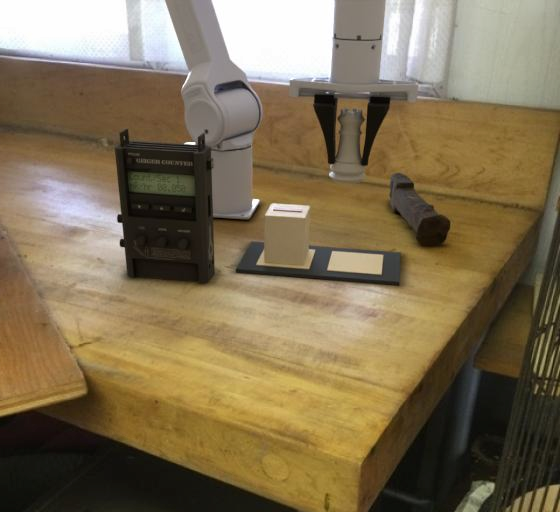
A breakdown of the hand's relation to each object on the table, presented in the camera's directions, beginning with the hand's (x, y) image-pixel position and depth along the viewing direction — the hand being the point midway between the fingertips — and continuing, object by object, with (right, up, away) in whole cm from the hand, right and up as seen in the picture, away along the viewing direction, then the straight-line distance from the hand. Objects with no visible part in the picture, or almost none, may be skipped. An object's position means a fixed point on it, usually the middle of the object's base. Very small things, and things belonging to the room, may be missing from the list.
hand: (348, 162), depth 84 cm
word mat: (-4, -13, -4) cm, 14 cm away
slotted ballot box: (-7, -12, -4) cm, 15 cm away
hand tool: (+9, -5, +9) cm, 14 cm away
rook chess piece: (0, -2, +1) cm, 2 cm away
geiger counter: (-20, -15, -8) cm, 26 cm away
